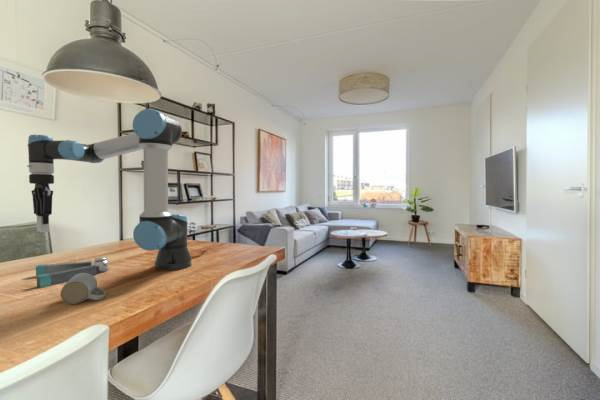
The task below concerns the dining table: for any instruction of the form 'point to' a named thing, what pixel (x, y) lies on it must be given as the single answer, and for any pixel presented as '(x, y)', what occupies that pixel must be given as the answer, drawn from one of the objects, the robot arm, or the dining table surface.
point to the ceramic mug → (81, 289)
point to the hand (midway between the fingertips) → (43, 231)
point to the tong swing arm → (63, 266)
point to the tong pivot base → (71, 273)
